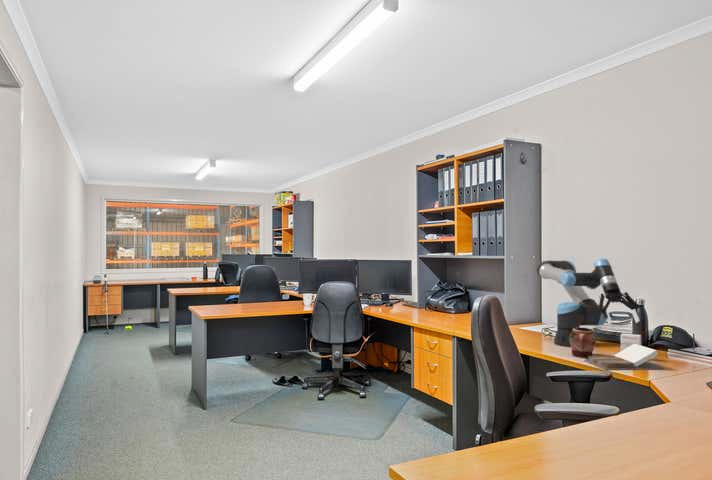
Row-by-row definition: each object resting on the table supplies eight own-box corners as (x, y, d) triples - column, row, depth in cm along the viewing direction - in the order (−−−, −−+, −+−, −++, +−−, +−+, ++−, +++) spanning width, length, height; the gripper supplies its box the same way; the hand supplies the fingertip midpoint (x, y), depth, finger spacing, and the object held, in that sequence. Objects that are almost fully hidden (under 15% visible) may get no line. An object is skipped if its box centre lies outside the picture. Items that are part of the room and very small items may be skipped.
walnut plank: (588, 360, 227) (588, 356, 227) (612, 359, 228) (612, 355, 228) (607, 368, 212) (607, 363, 212) (633, 367, 213) (633, 363, 213)
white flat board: (615, 359, 228) (613, 355, 228) (636, 347, 229) (634, 343, 229) (636, 366, 213) (634, 363, 213) (658, 354, 214) (656, 350, 214)
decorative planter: (597, 362, 226) (597, 332, 226) (569, 359, 231) (569, 330, 231) (595, 353, 244) (595, 326, 244) (569, 351, 249) (569, 325, 249)
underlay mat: (583, 360, 228) (583, 359, 228) (638, 360, 230) (638, 359, 230) (605, 370, 211) (605, 368, 211) (663, 369, 213) (663, 367, 213)
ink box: (641, 358, 234) (641, 334, 234) (640, 360, 230) (640, 336, 230) (621, 356, 239) (621, 332, 239) (620, 358, 235) (620, 334, 235)
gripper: (588, 283, 249) (601, 321, 237) (636, 280, 248) (652, 318, 236) (583, 290, 256) (596, 327, 244) (631, 287, 255) (646, 324, 243)
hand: (624, 322), depth 240 cm, fingers open, 13 cm apart
